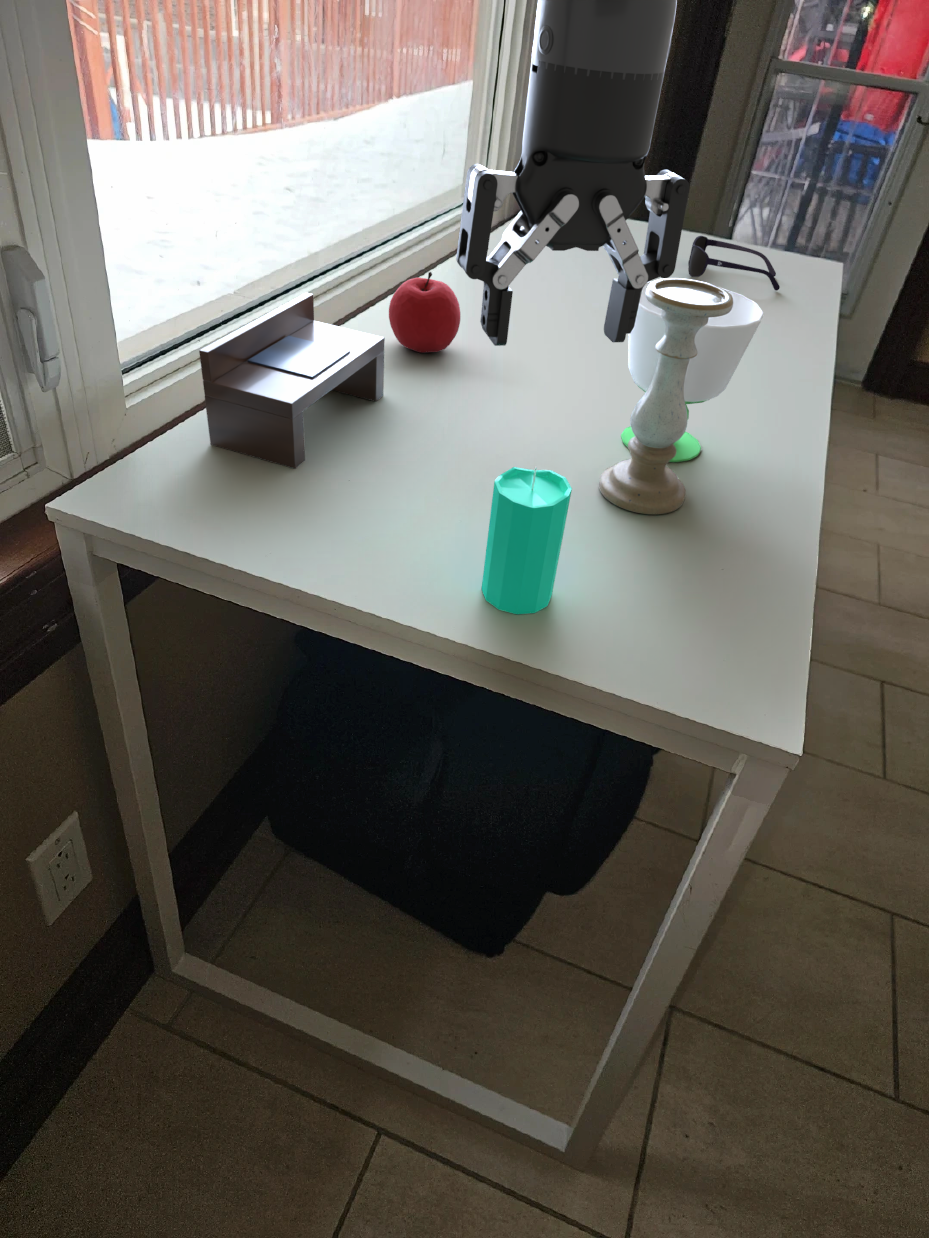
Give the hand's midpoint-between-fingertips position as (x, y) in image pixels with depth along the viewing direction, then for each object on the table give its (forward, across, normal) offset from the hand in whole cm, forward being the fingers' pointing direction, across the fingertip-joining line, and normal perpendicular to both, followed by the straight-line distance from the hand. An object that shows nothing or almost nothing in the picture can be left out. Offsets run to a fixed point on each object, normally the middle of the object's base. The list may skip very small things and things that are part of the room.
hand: (555, 340), depth 57 cm
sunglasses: (+22, -66, -81) cm, 107 cm away
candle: (+22, 0, 0) cm, 22 cm away
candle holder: (+22, -18, -14) cm, 32 cm away
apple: (+22, -4, -53) cm, 58 cm away
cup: (+22, -25, -24) cm, 41 cm away
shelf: (+22, +14, -34) cm, 43 cm away
